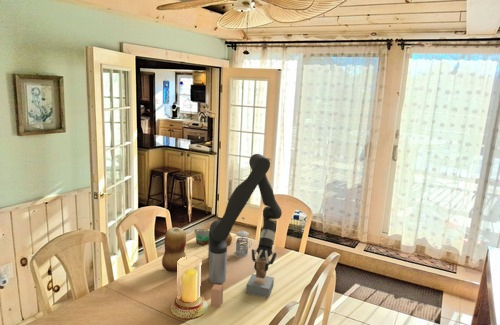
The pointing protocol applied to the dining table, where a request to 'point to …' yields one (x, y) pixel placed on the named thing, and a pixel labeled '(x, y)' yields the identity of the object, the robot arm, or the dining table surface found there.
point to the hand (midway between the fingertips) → (260, 270)
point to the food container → (202, 236)
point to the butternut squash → (173, 248)
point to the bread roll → (229, 239)
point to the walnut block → (260, 268)
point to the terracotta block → (217, 295)
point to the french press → (243, 251)
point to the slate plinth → (260, 286)
